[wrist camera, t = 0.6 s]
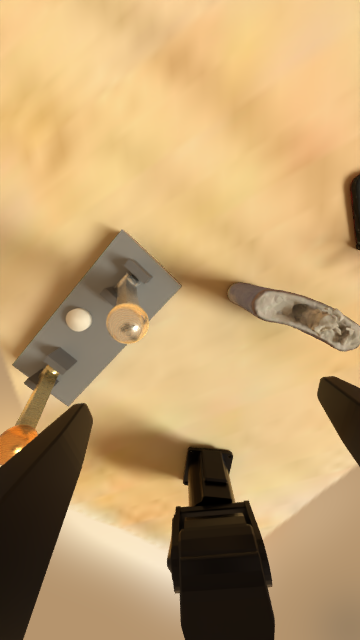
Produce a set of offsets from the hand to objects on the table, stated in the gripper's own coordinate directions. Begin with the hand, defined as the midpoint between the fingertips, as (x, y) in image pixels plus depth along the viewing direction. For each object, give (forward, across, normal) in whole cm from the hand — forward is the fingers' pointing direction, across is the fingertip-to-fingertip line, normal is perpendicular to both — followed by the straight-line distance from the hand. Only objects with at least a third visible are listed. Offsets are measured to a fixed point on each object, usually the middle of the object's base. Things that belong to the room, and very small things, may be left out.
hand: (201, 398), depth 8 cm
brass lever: (+12, +16, +6) cm, 21 cm away
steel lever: (+13, +6, -2) cm, 15 cm away
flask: (+16, -9, +3) cm, 19 cm away
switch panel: (+16, +11, +3) cm, 20 cm away
